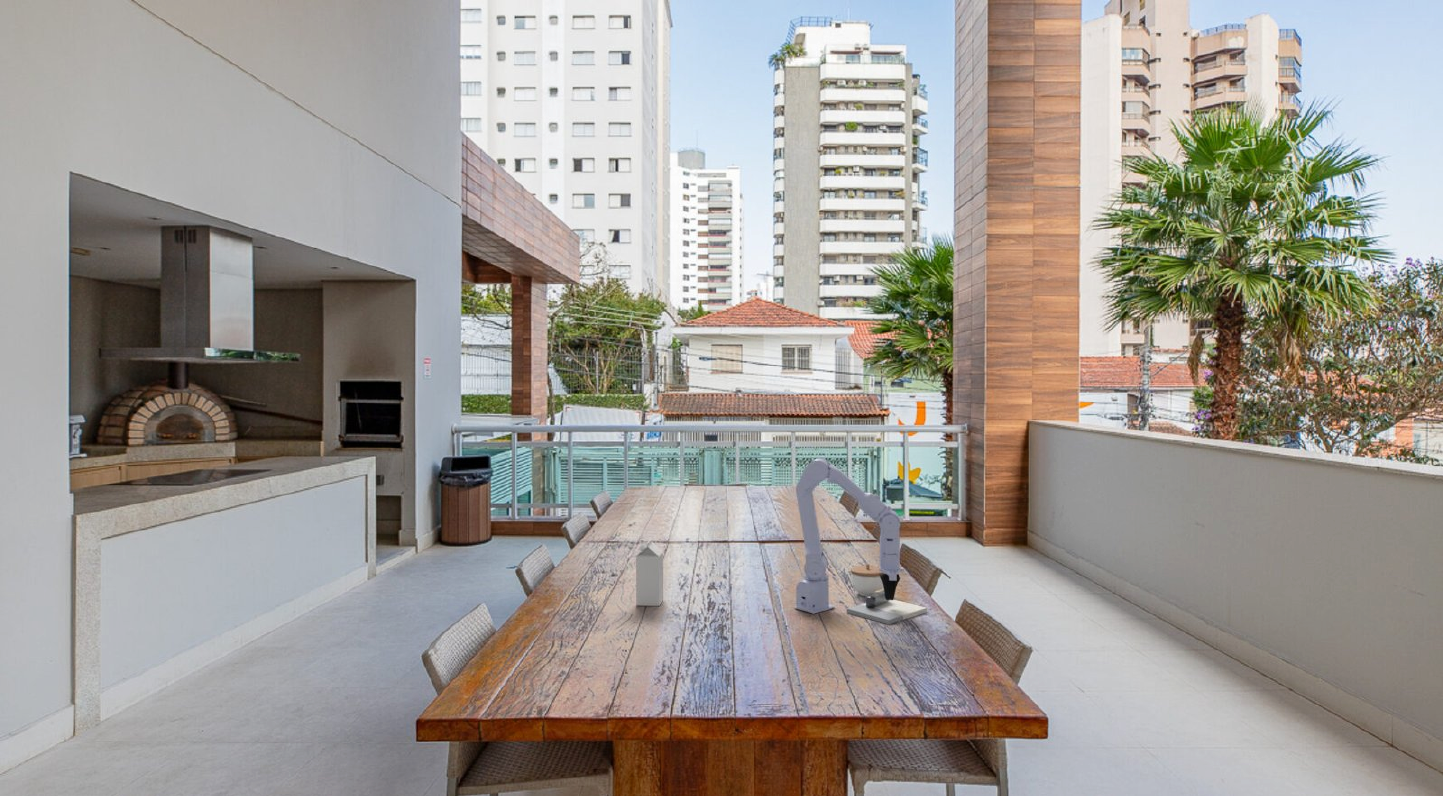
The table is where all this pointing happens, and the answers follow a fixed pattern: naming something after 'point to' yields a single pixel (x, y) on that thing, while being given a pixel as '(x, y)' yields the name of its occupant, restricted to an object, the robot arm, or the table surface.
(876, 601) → the swing bar
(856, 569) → the lidded jar
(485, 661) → the table surface
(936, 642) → the table surface
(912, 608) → the door board
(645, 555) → the milk carton
